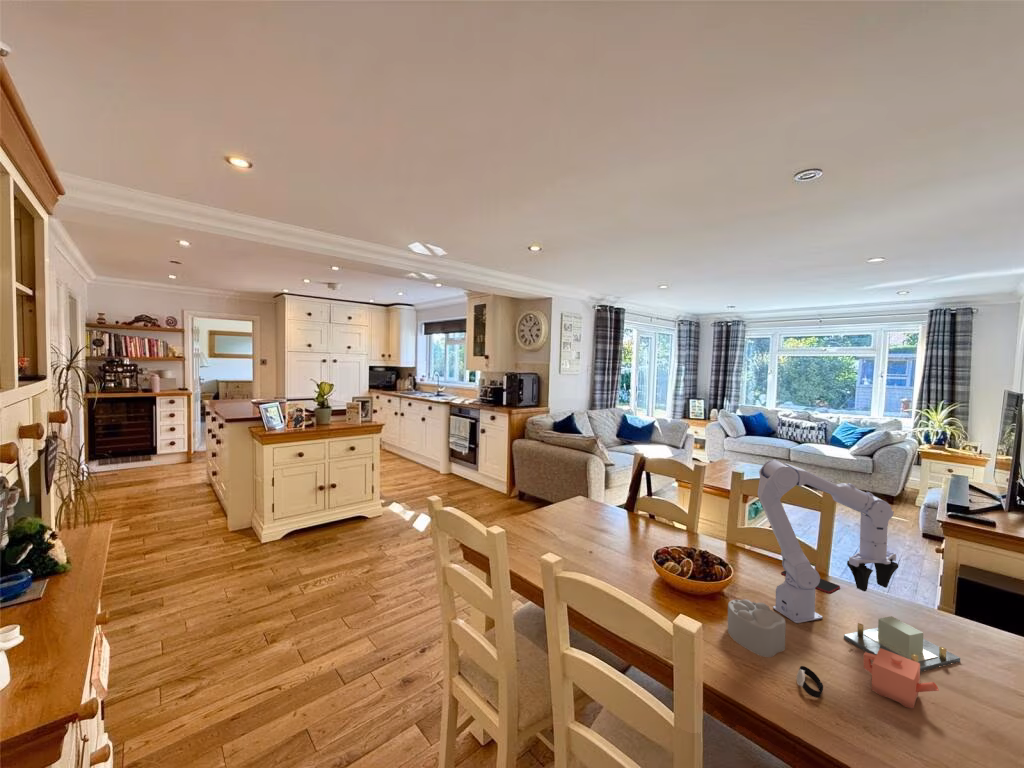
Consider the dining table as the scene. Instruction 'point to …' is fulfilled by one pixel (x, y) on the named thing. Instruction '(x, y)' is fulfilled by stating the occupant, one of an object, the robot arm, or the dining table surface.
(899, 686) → the pink cube teapot
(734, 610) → the lumpy-topped squat cylinder
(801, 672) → the watch
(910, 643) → the board block
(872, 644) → the chassis
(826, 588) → the smartphone
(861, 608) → the dining table surface
